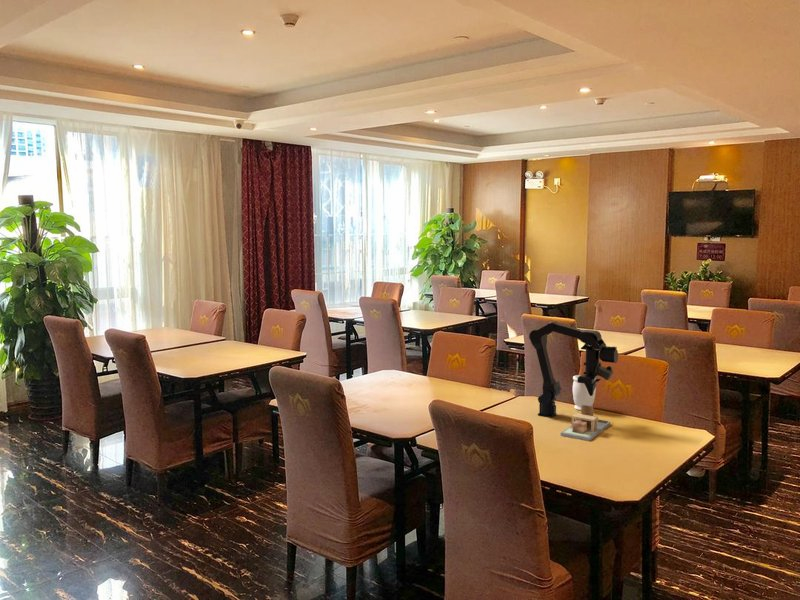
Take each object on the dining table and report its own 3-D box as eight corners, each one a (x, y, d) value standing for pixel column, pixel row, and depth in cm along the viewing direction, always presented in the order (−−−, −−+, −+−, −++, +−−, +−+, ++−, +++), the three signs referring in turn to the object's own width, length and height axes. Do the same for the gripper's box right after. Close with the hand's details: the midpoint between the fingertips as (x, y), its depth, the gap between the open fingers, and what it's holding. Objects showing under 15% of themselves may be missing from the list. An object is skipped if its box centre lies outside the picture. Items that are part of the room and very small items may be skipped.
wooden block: (572, 431, 266) (572, 411, 265) (581, 424, 275) (582, 404, 274) (583, 433, 263) (584, 412, 262) (593, 426, 272) (593, 406, 271)
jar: (597, 411, 298) (598, 379, 296) (575, 411, 298) (576, 380, 296) (591, 405, 309) (592, 374, 307) (569, 405, 309) (570, 374, 307)
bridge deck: (560, 435, 265) (560, 420, 264) (583, 419, 286) (583, 405, 285) (589, 441, 258) (589, 425, 257) (610, 424, 279) (610, 410, 278)
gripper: (603, 366, 267) (602, 403, 269) (617, 358, 282) (616, 393, 284) (577, 363, 273) (576, 399, 275) (592, 355, 288) (591, 390, 290)
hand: (591, 395), depth 281 cm, fingers closed
